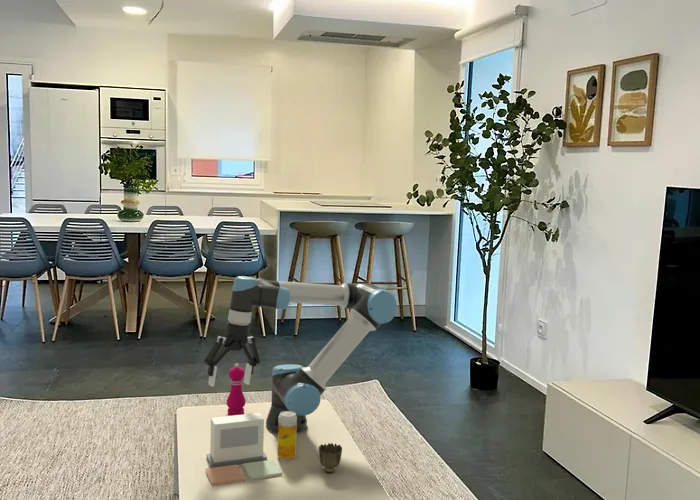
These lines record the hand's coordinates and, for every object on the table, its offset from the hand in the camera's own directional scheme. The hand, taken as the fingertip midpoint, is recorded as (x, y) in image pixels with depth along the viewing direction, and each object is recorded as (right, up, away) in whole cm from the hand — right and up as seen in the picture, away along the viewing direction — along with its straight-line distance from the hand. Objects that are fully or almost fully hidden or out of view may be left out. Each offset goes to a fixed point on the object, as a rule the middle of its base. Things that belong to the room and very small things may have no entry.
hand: (229, 384), depth 221 cm
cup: (+34, -25, -12) cm, 44 cm away
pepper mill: (-4, -19, +35) cm, 40 cm away
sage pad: (+13, -24, -13) cm, 31 cm away
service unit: (+4, -23, -6) cm, 24 cm away
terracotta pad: (+2, -24, -18) cm, 30 cm away
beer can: (+20, -24, -3) cm, 31 cm away
